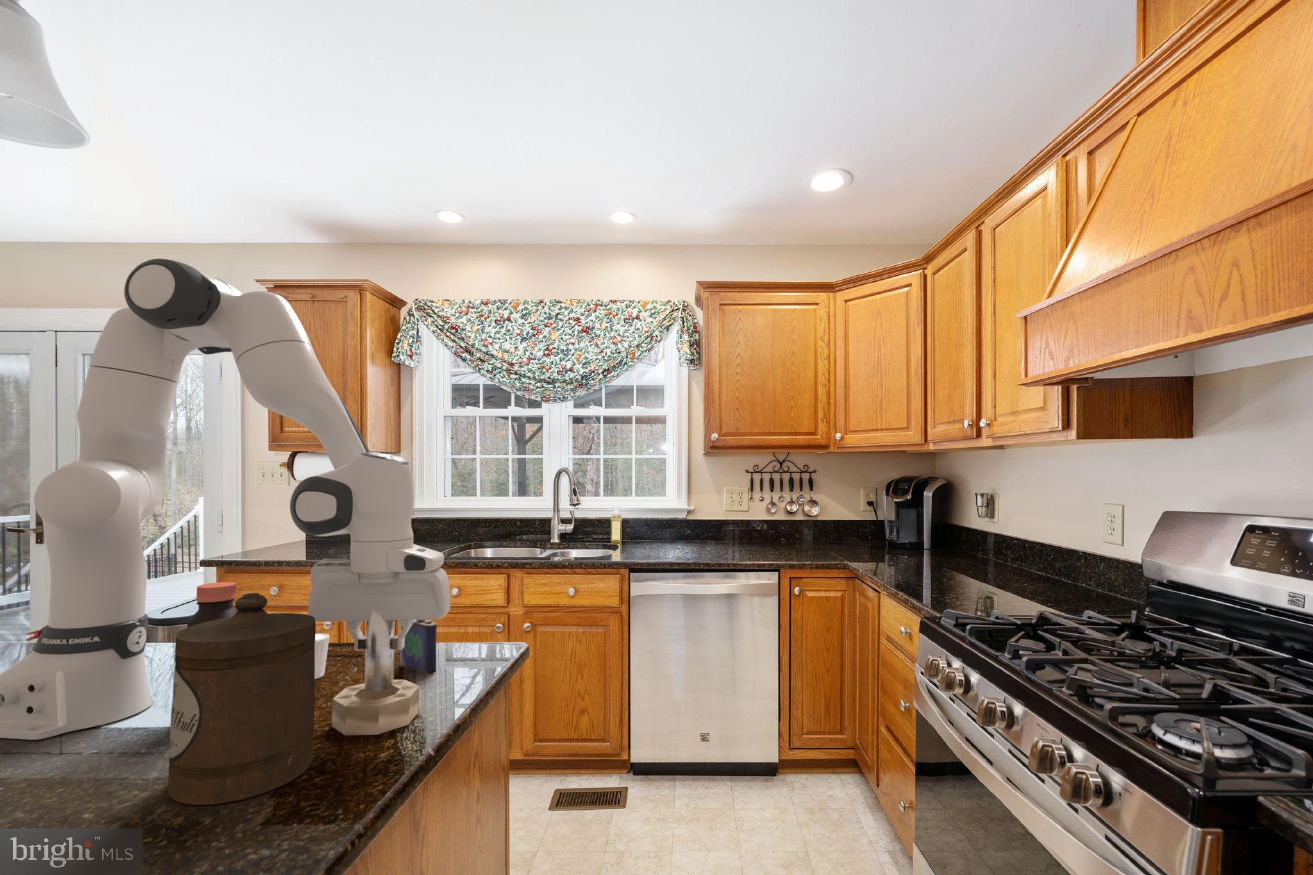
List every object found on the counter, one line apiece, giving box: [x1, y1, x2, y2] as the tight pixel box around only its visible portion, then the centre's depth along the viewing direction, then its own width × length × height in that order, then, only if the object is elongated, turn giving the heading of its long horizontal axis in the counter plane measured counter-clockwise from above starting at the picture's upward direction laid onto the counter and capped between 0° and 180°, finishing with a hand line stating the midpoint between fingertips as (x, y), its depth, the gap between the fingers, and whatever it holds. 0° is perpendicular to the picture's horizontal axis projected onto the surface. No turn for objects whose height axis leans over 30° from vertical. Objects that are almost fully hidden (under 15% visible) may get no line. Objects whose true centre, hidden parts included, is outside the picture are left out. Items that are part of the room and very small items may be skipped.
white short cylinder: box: [315, 632, 330, 680], centre depth 111 cm, size 7×7×7 cm
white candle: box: [364, 610, 396, 691], centre depth 92 cm, size 4×4×15 cm
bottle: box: [186, 581, 238, 628], centre depth 92 cm, size 7×7×20 cm
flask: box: [399, 619, 438, 675], centre depth 116 cm, size 9×3×11 cm, turn 58°
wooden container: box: [167, 592, 317, 806], centre depth 75 cm, size 15×15×22 cm
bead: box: [331, 679, 420, 736], centre depth 92 cm, size 11×11×4 cm
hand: (379, 649), depth 92 cm, fingers closed on white candle, 4 cm apart
